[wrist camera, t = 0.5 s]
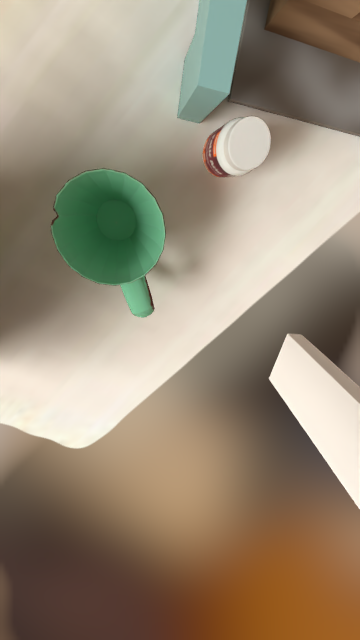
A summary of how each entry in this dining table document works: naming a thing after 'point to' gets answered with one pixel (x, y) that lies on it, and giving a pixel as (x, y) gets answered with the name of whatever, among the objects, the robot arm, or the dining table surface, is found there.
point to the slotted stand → (301, 61)
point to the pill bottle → (237, 147)
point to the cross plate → (211, 58)
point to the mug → (110, 232)
